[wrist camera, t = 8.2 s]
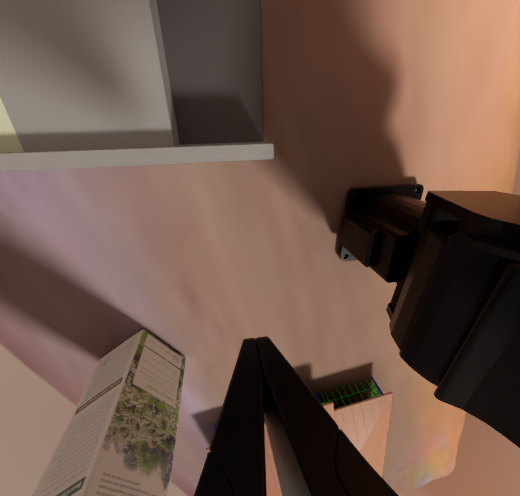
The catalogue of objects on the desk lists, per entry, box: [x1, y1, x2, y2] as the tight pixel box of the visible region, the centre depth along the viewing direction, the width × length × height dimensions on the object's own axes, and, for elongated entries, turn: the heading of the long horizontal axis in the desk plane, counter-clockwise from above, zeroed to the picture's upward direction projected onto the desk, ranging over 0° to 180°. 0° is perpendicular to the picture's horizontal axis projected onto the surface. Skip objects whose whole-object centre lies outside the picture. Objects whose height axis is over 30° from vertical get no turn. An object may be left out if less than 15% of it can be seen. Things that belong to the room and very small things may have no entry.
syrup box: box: [32, 329, 185, 496], centre depth 17 cm, size 6×6×14 cm
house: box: [206, 377, 393, 496], centre depth 33 cm, size 23×33×8 cm
